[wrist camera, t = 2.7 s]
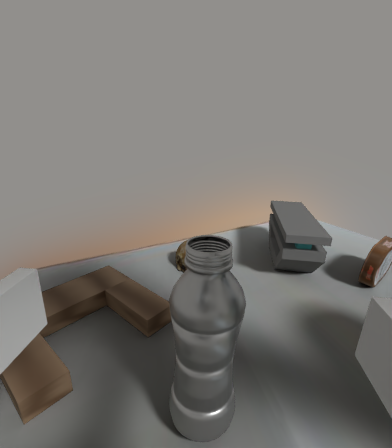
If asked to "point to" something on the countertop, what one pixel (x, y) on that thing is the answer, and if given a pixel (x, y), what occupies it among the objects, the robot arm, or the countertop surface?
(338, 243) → the countertop surface
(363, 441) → the countertop surface
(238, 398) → the countertop surface
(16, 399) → the notched board
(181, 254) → the bread roll
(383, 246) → the tin
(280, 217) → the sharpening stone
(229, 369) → the plastic bottle
